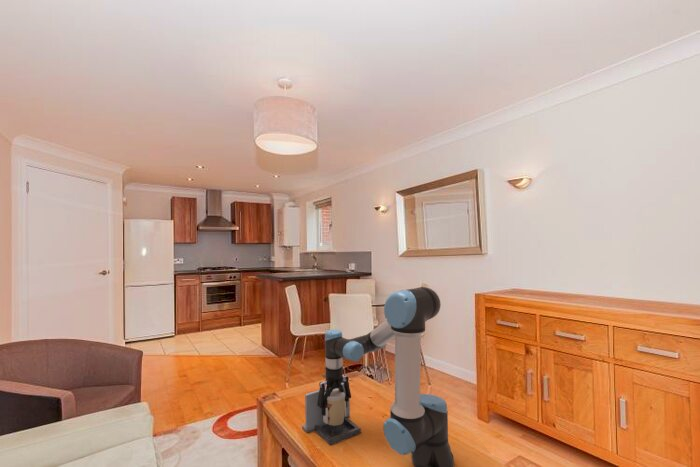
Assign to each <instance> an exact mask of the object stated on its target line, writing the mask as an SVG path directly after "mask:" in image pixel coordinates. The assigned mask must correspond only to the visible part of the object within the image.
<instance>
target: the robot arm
mask: <svg viewBox="0 0 700 467" xmlns="http://www.w3.org/2000/svg"><path fill="white" fill-rule="evenodd" d="M441 305H442V304H441V300H440V296H439V295H438V294H437V292H436V291H435V290H433V289H432V288H429V287H426V286H425V287H424V286H420V287H419V286H418V287H416V288H410V289H401V290H398V291H395V292H392V293H391V294H390V295H389V296H388V297H387V298H386V300H385V302H384V307H383V314H384V317H385V321H384V322H382V323H380V324H379V325H378V326H377V327H375V328H374V329H373V330H371V331H370V332H368V333H367V334H363V335H360V336H358V337H357V336H356V337H352V338H351V339H350V338H349V339H348V338H345V337H343V331H342V330H341V329H329V330H326V331H325V334H324V355H325V357H324V358H325V363H324V364H325V368H324V369H325V375H326V377H325V380H324V381H323V382H322V381H320V382H319V389H318V390H319V397H318V403H317V406H319V407H320V408H322V415H323V421H324V422H325V423H326V424H328V408H327V407H326V406H327V403H328V402H327V398H328V397H329V396H330V394H331V392H332V391H333V389H335V388H338V389H339V391H341V392H344V389H343V386H342V384H341V382H342V380H343V383H344V388H345V392H344V393H346V394H345V406H344V417H346V408H347V402H348V401H349V402H350V399H351V398H352V394H351V388H350V382H349V380H350V378H349V376H347V375H346V374H344V375H343V372H344V370H343V368H344V367H343V365H344V363H343V362H344V361H343V358H344V359H346V360H348V361H349V362H350V361H352V362H359V361H360V360H361V359H362V358H363V356H364V355H366V354H369V353H372V352H377V351H379V350H381V349H383V348H384V345H386V344H387V343H389V342H390V341H392V340H393V339H394V342H395V343H394V344H395V346H394V351H395V352H394V402H392V403H391V404H390V415H389V416H390V417H388V418H387V419H386V420H385V421H384V423H383V427H382V428H383V435H384V437H385V440H386V441H387V443H388V445H389V446H390V448H391V449H392V450H393V451H394V452H396V453H398V454H399V455H402V456H406V455H408V454H410V453H411V463H412V464H413V466H414V467H454V466H455V461H454V454H453V452H452V450H451V446H450V443H449V426H448V425H449V422H448V421H449V420H448V419H449V418H448V417H449V415H448V413H449V411H448V404H447V402H446V401H445V399H444V398H442V397H441V396H437V395H435V394H431V393H430V394H429V393H421V356H422V355H421V342H422V340H421V338H422V337H421V336H422V334H424V333H425V332H426V322H427V321H428V320H431V319H433V318H435V317H436V316H437V315H438V313H439V312H440V310H441ZM348 382H349V383H348ZM325 388H326V392H325ZM329 388H330V389H329ZM324 393H325V395H324Z"/></svg>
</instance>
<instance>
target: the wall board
mask: <svg viewBox="0 0 700 467" xmlns="http://www.w3.org/2000/svg"><path fill="white" fill-rule="evenodd" d="M348 383H349V384H350V382H349V381H348ZM341 384H342V386H343V389H344V392H345V388H344V383H341ZM329 389H330V388H329ZM335 389H338V388H335ZM319 390H320V389H318V390H314V391H312V392H307V393H305V394H304V397H305V398H304V407H305V408H304V409H305V410H304V411H305V414H304V415H305V416H304V417H305V424H304V425H301V428H302V429H303V431H305V433H307V434H309V433H311V432H314V431H315V425H318V426H320V427H323V426H325V425H328V424H326V423H325V422H324V421H323V415H322V408H320V407H319V406H317V403H318V397H319ZM325 392H326V387H325ZM345 394H346V393H345ZM350 408H351V407H350V400H349V401H348V402H347V408H346V418H348V419H350V417H351V412H350V411H351V410H350ZM315 432H316V431H315Z"/></svg>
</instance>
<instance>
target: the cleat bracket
mask: <svg viewBox="0 0 700 467" xmlns="http://www.w3.org/2000/svg"><path fill="white" fill-rule="evenodd" d="M361 431H362V430H361V427H359V425H357V424H356V423H354V422H353V421H352V420H351V419H350V418H346V417H344V421H343V423H342V424H340V425H335V426H333V425H329V424H328V425H325V426H323V427H320V426H318V425H315V433H317V435H318V436H319V437H320V438H322V439H323V440H324V441H325V442H326V443H327V444H328V445H329V446H333V445H336V444H338V443H341V442H343V441H345V440H348V439H350V438H352V437H355V436H357V435H359V434H361V433H362V432H361Z"/></svg>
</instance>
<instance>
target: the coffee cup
mask: <svg viewBox="0 0 700 467" xmlns="http://www.w3.org/2000/svg"><path fill="white" fill-rule="evenodd" d="M324 395H325V393H324ZM327 402H328V403H327V406H326V407H327V408H328V424H329V425H333V426H335V425H340V424H342V423H343V421H344V406H345V393H344V392H341V391H339V389H333V391H332V392H331V394H330V396H329V397H328V398H327Z"/></svg>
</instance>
